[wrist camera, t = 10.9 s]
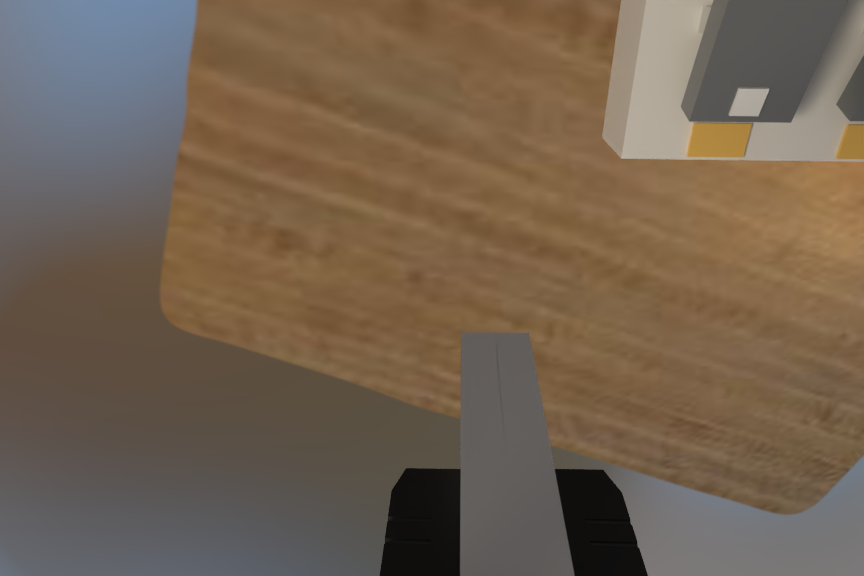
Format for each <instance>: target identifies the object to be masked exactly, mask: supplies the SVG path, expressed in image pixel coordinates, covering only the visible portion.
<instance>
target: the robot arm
mask: <svg viewBox="0 0 864 576" xmlns="http://www.w3.org/2000/svg"><path fill="white" fill-rule="evenodd" d="M380 576H648V575H647V572H646V568H645V565H644V562H643V559H642V556H641V553H640V550H639V548H638V546H637V540H636V536H635V533H634V530H633V527H632V525H631V524H630V517H629V514H628V511H627V507H626V504H625V501H624V498H623V495H622V492H621V491H620V490H619V489H618V488H617V486H616V485H615V484H614V483H613V481H612V480H611V479H610V478H609V476H608V475H607V474H606V473H605V472H604V470H584V469H580V470H579V469H554V464H553V458H552V453H551V448H550V442H549V437H548V432H547V426H546V421H545V416H544V410H543V405H542V400H541V394H540V389H539V384H538V378H537V373H536V368H535V362H534V357H533V352H532V347H531V341H530V336H529V333H461V469H415V468H407V469H405V471H404V473H403V474H402V476H401V477H400V479H399V480H398V482H397V483H396V485H395V486H394V488H393V489H392V492H391V500H390V507H389V514H388V522H387V528H386V535H385V544H384V549H383V557H382V564H381V571H380Z"/></svg>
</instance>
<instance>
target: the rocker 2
mask: <svg viewBox="0 0 864 576" xmlns="http://www.w3.org/2000/svg"><path fill="white" fill-rule="evenodd" d="M836 105H837V106H838V107H839V109H840V110H841V111H842V112H843V114H844V115H845V116H846V117H847V119H848V120H849V121H864V55H863V57H862V59H861V61H860V63H859V64H858V66H857V68H856V70H855V71H854V73H853V75H852V77H851V79H850V80H849V82H848V84H847V86H846V88H845V89H844V91H843V93H842V95H841V96H840V98H839V100H838V102H837V104H836Z"/></svg>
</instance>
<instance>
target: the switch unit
mask: <svg viewBox="0 0 864 576" xmlns="http://www.w3.org/2000/svg"><path fill="white" fill-rule="evenodd" d="M712 3H713V0H621V5H620V12H619V19H618V26H617V33H616V41H615V48H614V55H613V62H612V69H611V77H610V84H609V91H608V98H607V105H606V113H605V120H604V127H603V134H602V138H603V139H604V140H605V141H606V142H607V143H608V144H609V146H610V147H611V148H612V149H613V150H614V151H615V152H616V153H617V154H618V155H619V156H620V158H622V159H694V160H766V161H838V162H864V121H849V120H848V119H847V117H846V116H845V115H844V114H843V112H842V111H841V110H840V109H839V107H838V106H837V105H836V104H837V102H838V100H839V98H840V96H841V95H842V93H843V91H844V89H845V88H846V86H847V84H848V82H849V80H850V79H851V77H852V75H853V73H854V71H855V70H856V68H857V66H858V64H859V63H860V61H861V59H862V57H863V55H864V0H847V3H846V5H845V7H844V9H843V11H842V13H841V16H840V18H839V20H838V22H837V24H836V26H835V29H834V31H833V33H832V35H831V37H830V39H829V42H828V44H827V46H826V48H825V50H824V52H823V55H822V57H821V59H820V61H819V63H818V65H817V68H816V70H815V72H814V74H813V76H812V78H811V81H810V83H809V85H808V87H807V89H806V91H805V94H804V96H803V98H802V100H801V102H800V104H799V107H798V109H797V111H796V113H795V115H794V117H793V120H792V122H791V123H774V122H689V121H688V119H687V117H686V115H685V113H684V112H683V110H682V108H681V104H682V101H683V97H684V94H685V91H686V88H687V84H688V81H689V78H690V75H691V71H692V68H693V65H694V62H695V59H696V55H697V52H698V49H699V46H700V42H701V39H702V36H703V33H704V29H705V26H706V23H707V20H708V16H709V13H710V10H711V7H712Z"/></svg>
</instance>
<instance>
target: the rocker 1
mask: <svg viewBox="0 0 864 576" xmlns="http://www.w3.org/2000/svg"><path fill="white" fill-rule="evenodd" d="M846 3H847V0H713V3H712V7H711V10H710V13H709V16H708V20H707V23H706V26H705V29H704V33H703V36H702V39H701V42H700V46H699V49H698V52H697V55H696V59H695V62H694V65H693V68H692V71H691V75H690V78H689V81H688V84H687V88H686V91H685V94H684V97H683V101H682V104H681V108H682V110H683V112H684V113H685V115H686V117H687V119H688V121H689V122H774V123H791V122H792V120H793V117H794V115H795V113H796V111H797V109H798V107H799V104H800V102H801V100H802V98H803V96H804V94H805V91H806V89H807V87H808V85H809V83H810V81H811V78H812V76H813V74H814V72H815V70H816V68H817V65H818V63H819V61H820V59H821V57H822V55H823V52H824V50H825V48H826V46H827V44H828V42H829V39H830V37H831V35H832V33H833V31H834V29H835V26H836V24H837V22H838V20H839V18H840V16H841V13H842V11H843V9H844V7H845V5H846Z"/></svg>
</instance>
